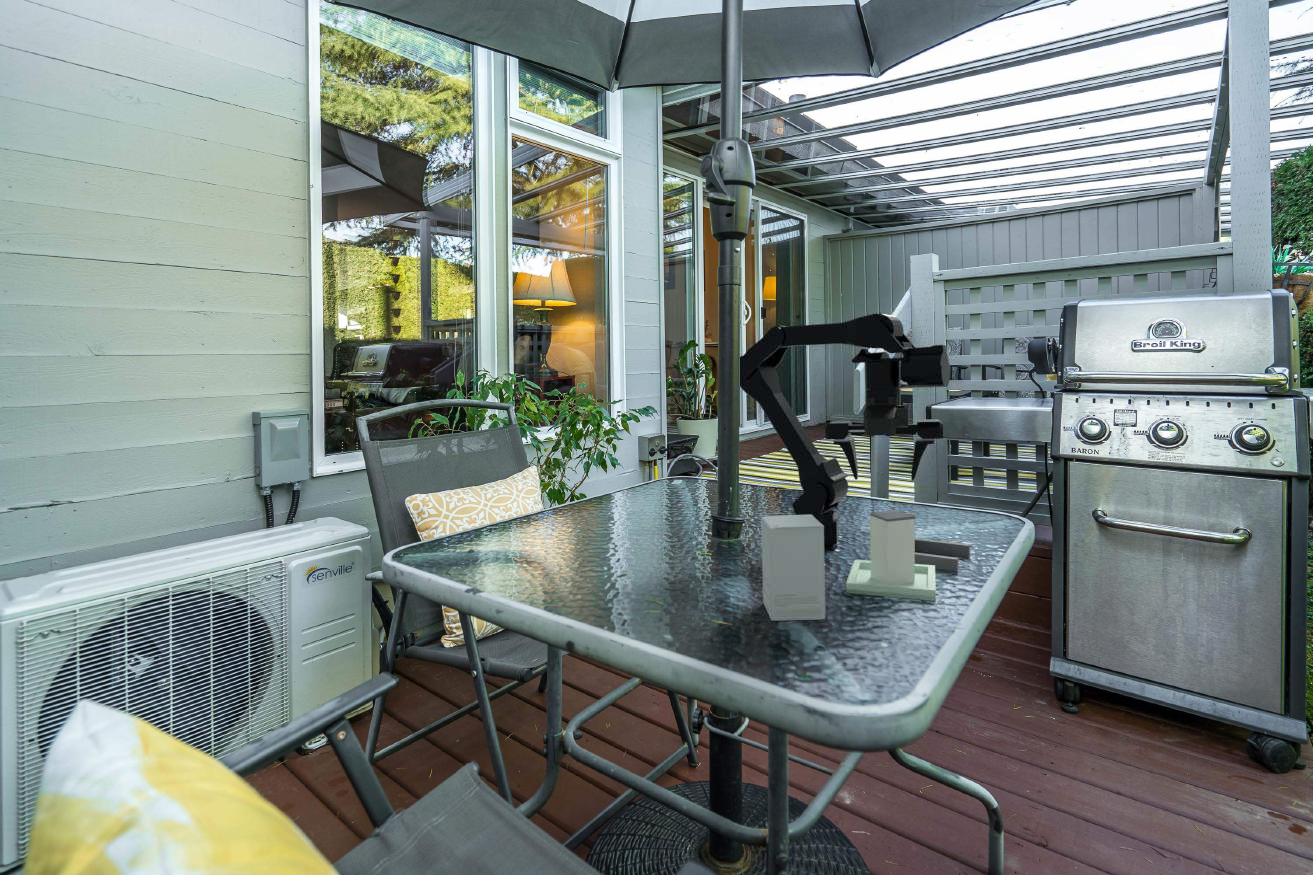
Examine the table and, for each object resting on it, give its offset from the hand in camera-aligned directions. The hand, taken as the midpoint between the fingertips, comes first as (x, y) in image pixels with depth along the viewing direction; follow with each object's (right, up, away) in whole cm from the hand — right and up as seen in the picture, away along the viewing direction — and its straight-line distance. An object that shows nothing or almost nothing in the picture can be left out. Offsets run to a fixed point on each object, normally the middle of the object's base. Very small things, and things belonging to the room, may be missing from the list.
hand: (884, 479), depth 113 cm
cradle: (+7, -13, -3) cm, 15 cm away
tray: (-4, -15, -14) cm, 21 cm away
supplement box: (-20, -17, -23) cm, 35 cm away
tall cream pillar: (-4, -14, -14) cm, 20 cm away
